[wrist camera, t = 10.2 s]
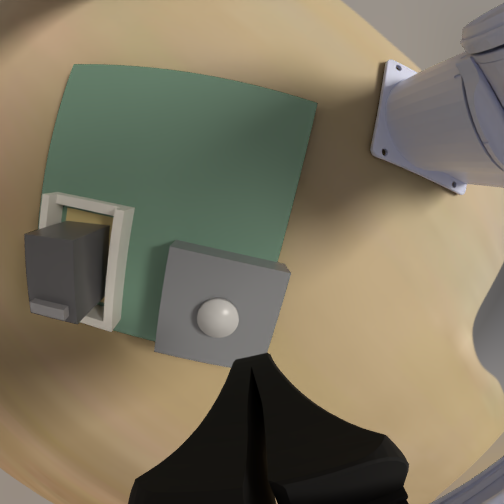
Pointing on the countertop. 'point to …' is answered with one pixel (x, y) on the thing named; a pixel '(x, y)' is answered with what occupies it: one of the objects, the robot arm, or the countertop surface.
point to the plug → (66, 269)
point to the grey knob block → (218, 304)
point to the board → (171, 174)
